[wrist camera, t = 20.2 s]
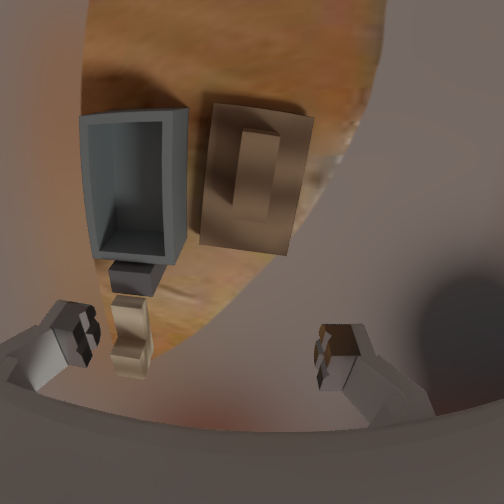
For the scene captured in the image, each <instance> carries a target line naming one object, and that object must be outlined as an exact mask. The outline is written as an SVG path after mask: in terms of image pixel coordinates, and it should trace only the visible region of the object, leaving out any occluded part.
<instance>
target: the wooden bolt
mask: <svg viewBox="0 0 504 504" xmlns="http://www.w3.org/2000/svg"><path fill="white" fill-rule="evenodd" d="M111 308H112V313H113V317H114V321H115V326H116V330H117V334H118V338H117V340H116V343H115V345H114V347H113V349H112V351H111V353H110V356H111V359H112V362H113V365H114V368H115V371H116V374H117V375H121V376H126V377H132V378H137V379H143V380H144V379H145V377H146V374H147V371H148V368H149V365H150V362H151V361H150V359H151V356H152V353H153V350H154V346H153V340H152V334H151V328H150V322H149V315H148V309H147V302H146V298H139V297H131V296H122V295H117V296H116V297H115V299H114V301H113V302H112V304H111Z"/></svg>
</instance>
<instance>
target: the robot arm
mask: <svg viewBox="0 0 504 504" xmlns="http://www.w3.org/2000/svg"><path fill="white" fill-rule="evenodd" d="M95 316H96V311H95V308H94V307H93V306H92V305H88V304H82V303H77V302H71V301H70V302H69V301H64V300H58V301H56V302H55V304H54V305H53V306H52V308H51V309H50V310H49V312H48V313H47V314H46V316H45V317H44V319H43V320H42V321H41V323H40V324H39V326H38V325H35V326H33V327H31V328H29V329H27V330H25V331H23V332H21V333H20V334H18V335H16V336H14V337H12V338H10V339H9V340H7V341H5V342H3V343H1V344H0V504H504V399H502V400H499V401H495V402H492V403H489V404H486V405H483V406H479V407H475V408H471V409H468V410H464V411H460V412H456V413H451V414H447V415H443V416H438V417H436V416H435V414H434V411H433V408H432V406H431V403H430V401H429V399H428V396H427V394H426V391H425V390H423V389H422V388H421V387H419V386H418V385H417V384H415V383H414V382H413V381H412V380H411V379H409V378H408V377H407V376H405V375H404V374H403V373H402V372H400V371H399V370H398V369H396V368H395V367H394V366H392V365H391V364H390V363H389V362H387V361H386V360H385V359H383V358H382V357H381V356H376V355H375V352H374V349H373V346H372V344H371V341H370V339H369V336H368V334H367V331H366V329H365V326H364V325H363V324H322V325H321V327H320V330H319V336H320V339H319V340H318V341H317V342H316V345H315V350H314V363H315V367H316V368H317V369H318V370H319V371H318V374H317V381H318V386H319V391H342V392H343V393H344V395H345V396H346V397H347V398H348V399H349V400H350V401H351V403H352V404H353V405H354V406H355V407H356V408H357V409H358V410H359V411H360V413H361V414H362V415H363V416H364V417H365V418H366V420H367V421H369V423H370V425H369V426H368V427H367V428H360V429H349V430H335V431H318V432H248V431H230V430H216V429H204V428H196V427H187V426H179V425H172V424H165V423H159V422H152V421H147V420H141V419H136V418H130V417H125V416H121V415H116V414H111V413H107V412H102V411H99V410H94V409H90V408H87V407H83V406H79V405H76V404H72V403H68V402H65V401H61V400H58V399H55V398H52V397H49V396H46V395H43V394H40V393H37V392H36V391H37V390H38V389H40V388H41V387H42V386H43V385H44V384H46V383H47V382H48V381H49V380H51V379H52V378H53V377H54V376H55V375H57V374H58V373H59V372H61V371H62V370H63V369H64V368H66V367H67V366H68V365H72V366H77V367H82V368H87V367H88V364H89V362H90V360H91V358H92V356H93V355H92V350H93V349H95V348H96V347H97V346H98V344H99V342H100V336H101V330H100V325H99V323H98V322H97V321H96V320H95V318H94V317H95Z"/></svg>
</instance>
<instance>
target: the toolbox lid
mask: <svg viewBox="0 0 504 504" xmlns="http://www.w3.org/2000/svg"><path fill="white" fill-rule="evenodd" d="M313 123H314V118H313V117H309V116H303V115H298V114H293V113H287V112H281V111H275V110H269V109H262V108H255V107H248V106H240V105H232V104H222V103H214V105H213V112H212V120H211V128H210V137H209V145H208V154H207V163H206V173H205V183H204V193H203V204H202V215H201V228H200V240H199V244H201V245H209V246H216V247H224V248H231V249H238V250H246V251H253V252H261V253H268V254H276V255H283V256H287V252H288V247H289V242H290V238H291V233H292V228H293V224H294V219H295V214H296V209H297V205H298V200H299V195H300V190H301V185H302V180H303V175H304V170H305V165H306V160H307V155H308V150H309V144H310V139H311V134H312V128H313Z"/></svg>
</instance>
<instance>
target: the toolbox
mask: <svg viewBox="0 0 504 504" xmlns="http://www.w3.org/2000/svg"><path fill="white" fill-rule="evenodd" d="M188 117H189V108H145V109H125V110H111V111H104V112H98V113H93V114H88V115H82V116H79V130H80V155H81V170H82V182H83V192H84V201H85V210H86V218H87V225H88V232H89V238H90V244H91V251H92V256H93V258H96V259H107V260H115V262H114V263H113V264H112V266H111V267H110V268H109V270H108V271H109V277H110V282H111V287H112V292H114V293H122V294H131V295H140V296H149V297H153V295H154V293H155V290H156V288H157V286H158V284H159V282H160V280H161V277H162V275H163V273H164V271H165V269H166V267H167V265H175V263H176V261H177V259H178V257H179V254H180V252H181V250H182V248H183V245H184V243H185V241H186V239H187V147H188Z"/></svg>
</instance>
